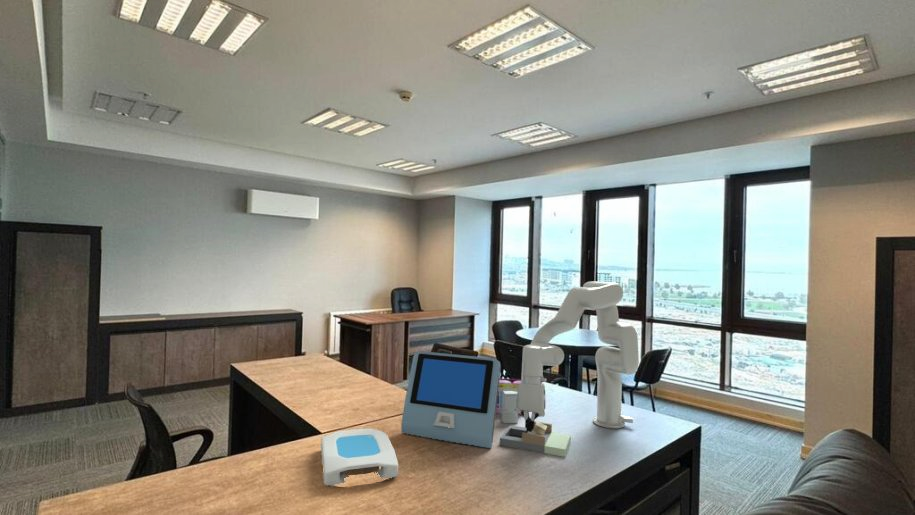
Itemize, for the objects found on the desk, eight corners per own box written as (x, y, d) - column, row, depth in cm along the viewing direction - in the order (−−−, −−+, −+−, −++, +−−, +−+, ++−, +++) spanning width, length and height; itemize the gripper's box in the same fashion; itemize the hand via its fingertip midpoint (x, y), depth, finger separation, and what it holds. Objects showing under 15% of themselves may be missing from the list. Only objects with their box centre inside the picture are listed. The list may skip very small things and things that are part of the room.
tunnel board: (570, 441, 160) (570, 426, 161) (565, 456, 147) (565, 440, 148) (509, 431, 169) (510, 417, 169) (499, 445, 156) (500, 429, 156)
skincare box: (503, 423, 178) (504, 393, 178) (501, 419, 182) (501, 390, 182) (518, 423, 178) (519, 393, 179) (515, 419, 183) (516, 390, 183)
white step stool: (323, 491, 122) (324, 468, 122) (320, 450, 148) (321, 432, 148) (398, 481, 128) (399, 459, 129) (382, 444, 155) (383, 426, 155)
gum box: (528, 409, 196) (528, 379, 197) (529, 415, 189) (530, 384, 189) (475, 406, 199) (475, 376, 199) (474, 412, 191) (474, 381, 191)
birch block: (543, 436, 159) (547, 426, 158) (541, 440, 155) (545, 430, 155) (532, 430, 160) (537, 420, 160) (531, 434, 156) (535, 424, 156)
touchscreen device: (398, 435, 162) (402, 354, 164) (420, 420, 180) (423, 347, 182) (489, 451, 150) (492, 363, 152) (503, 433, 168) (505, 355, 170)
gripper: (554, 380, 160) (552, 431, 159) (514, 374, 166) (512, 423, 165) (550, 384, 153) (548, 437, 152) (509, 378, 159) (506, 429, 158)
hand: (529, 430), depth 158 cm, fingers closed
